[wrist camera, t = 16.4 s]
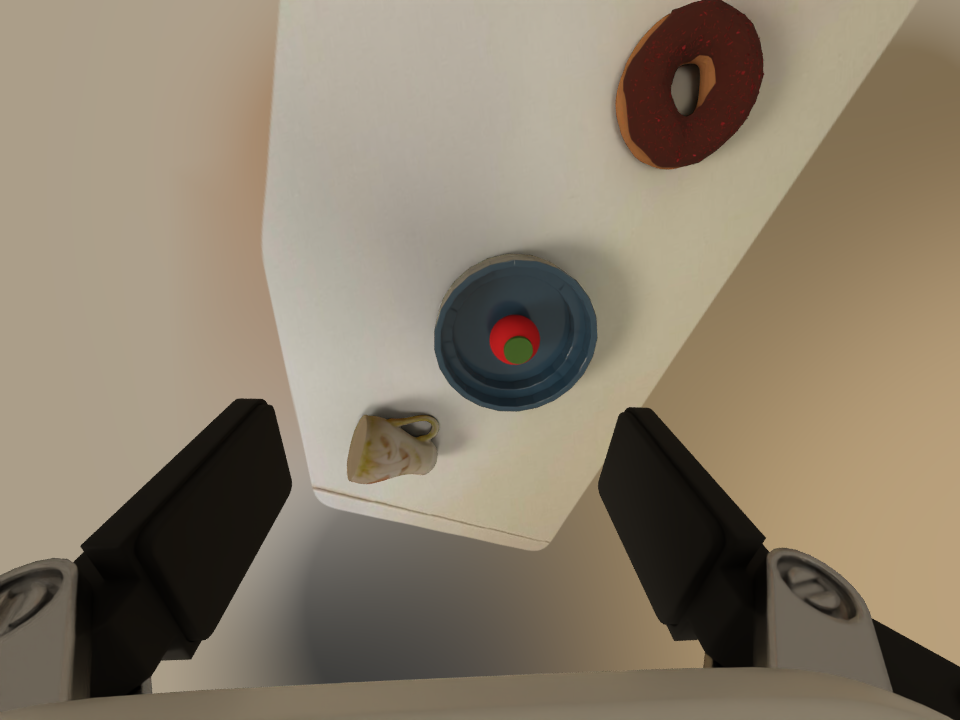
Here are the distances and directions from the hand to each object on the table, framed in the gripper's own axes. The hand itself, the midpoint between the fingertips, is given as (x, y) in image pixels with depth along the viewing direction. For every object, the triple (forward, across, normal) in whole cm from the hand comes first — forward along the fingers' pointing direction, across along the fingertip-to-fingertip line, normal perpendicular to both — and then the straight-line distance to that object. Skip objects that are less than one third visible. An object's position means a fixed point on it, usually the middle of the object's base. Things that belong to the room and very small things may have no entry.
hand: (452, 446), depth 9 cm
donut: (+26, -17, -14) cm, 34 cm away
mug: (+26, +6, +20) cm, 33 cm away
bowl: (+25, -6, +6) cm, 27 cm away
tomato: (+25, -6, +6) cm, 26 cm away
